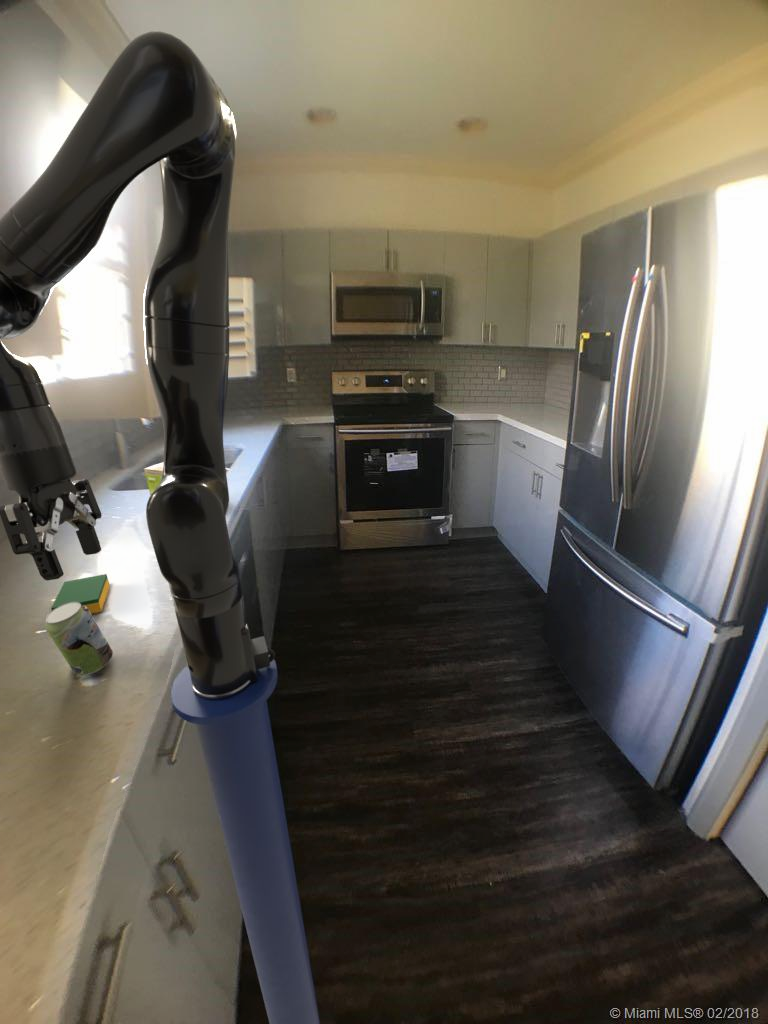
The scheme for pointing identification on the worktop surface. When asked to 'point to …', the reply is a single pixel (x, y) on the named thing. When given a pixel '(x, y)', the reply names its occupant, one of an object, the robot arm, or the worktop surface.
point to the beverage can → (78, 638)
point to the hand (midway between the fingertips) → (75, 565)
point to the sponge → (84, 593)
